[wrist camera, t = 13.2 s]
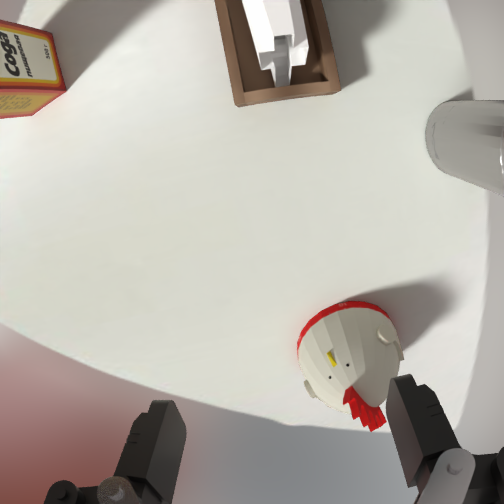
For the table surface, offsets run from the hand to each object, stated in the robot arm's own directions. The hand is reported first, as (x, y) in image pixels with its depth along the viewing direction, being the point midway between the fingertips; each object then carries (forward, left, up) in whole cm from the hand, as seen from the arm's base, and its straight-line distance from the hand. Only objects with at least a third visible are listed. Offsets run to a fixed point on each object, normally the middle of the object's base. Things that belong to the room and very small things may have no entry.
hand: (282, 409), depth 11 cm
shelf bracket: (-3, -26, -27) cm, 38 cm away
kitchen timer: (-7, +20, -28) cm, 35 cm away
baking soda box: (+26, -24, -27) cm, 45 cm away
